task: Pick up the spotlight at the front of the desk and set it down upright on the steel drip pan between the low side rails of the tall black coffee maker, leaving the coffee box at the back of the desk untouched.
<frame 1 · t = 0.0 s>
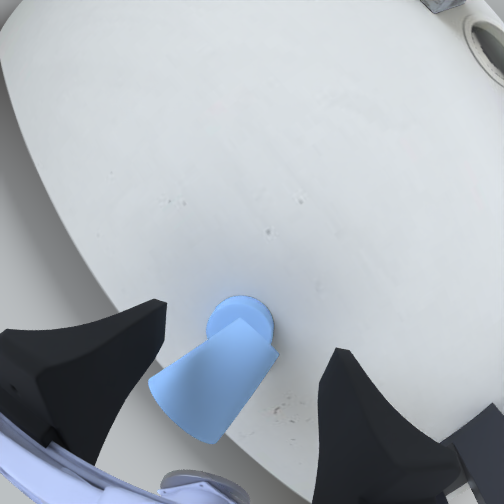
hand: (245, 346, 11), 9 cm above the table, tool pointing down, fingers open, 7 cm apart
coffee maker: (427, 479, 21), on the table
spotlight: (238, 328, 21), on the table
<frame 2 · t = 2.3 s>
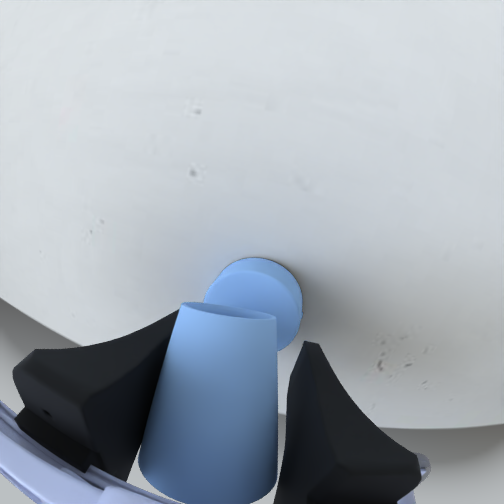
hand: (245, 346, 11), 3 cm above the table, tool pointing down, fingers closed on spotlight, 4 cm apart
spotlight: (257, 306, 15), on the table, touching gripper
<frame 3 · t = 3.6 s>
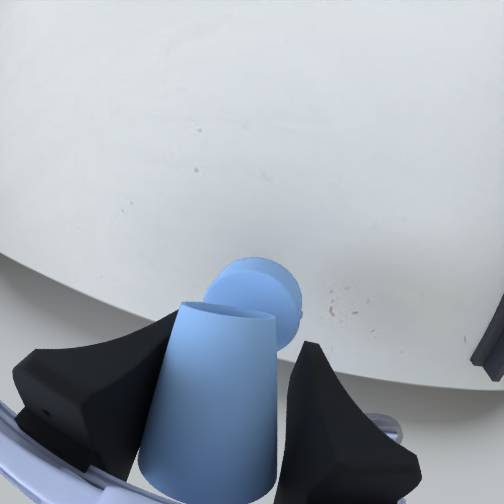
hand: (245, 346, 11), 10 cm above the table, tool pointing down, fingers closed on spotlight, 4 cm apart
spotlight: (256, 306, 15), point 7 cm above the table, touching gripper
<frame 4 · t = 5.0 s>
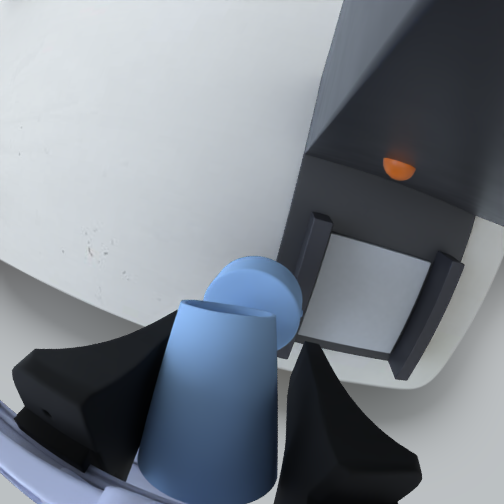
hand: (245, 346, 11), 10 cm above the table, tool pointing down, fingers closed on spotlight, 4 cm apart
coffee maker: (380, 243, 20), on the table
spotlight: (257, 305, 15), point 7 cm above the table, touching gripper
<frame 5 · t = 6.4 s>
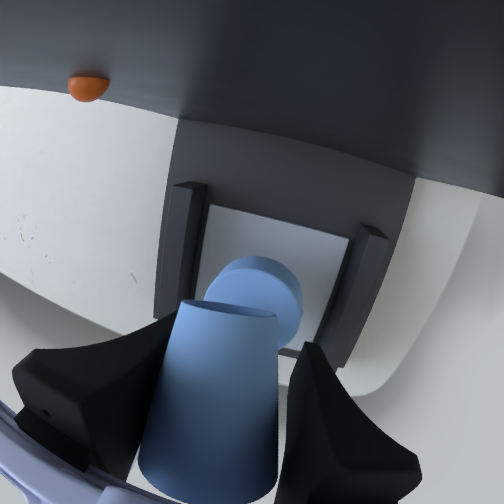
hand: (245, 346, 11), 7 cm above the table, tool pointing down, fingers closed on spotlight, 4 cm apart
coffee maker: (281, 215, 17), on the table
spotlight: (257, 304, 15), point 4 cm above the table, touching gripper
when the fingers open (5 cm above the table, at t = 7.7 s): spotlight stays where it is, resting on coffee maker.
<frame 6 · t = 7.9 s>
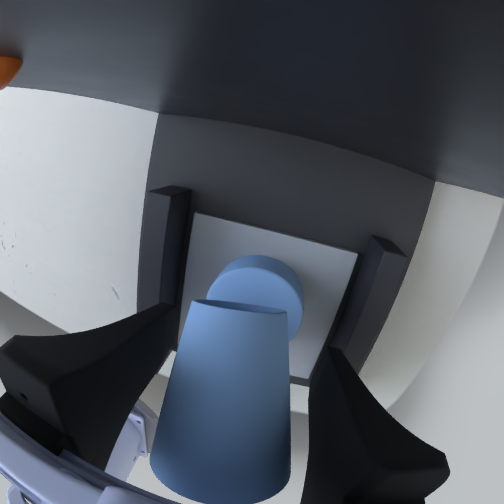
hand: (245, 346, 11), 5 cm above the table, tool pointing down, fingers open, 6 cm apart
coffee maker: (278, 225, 15), on the table
spotlight: (257, 303, 15), point 1 cm above the table, touching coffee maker
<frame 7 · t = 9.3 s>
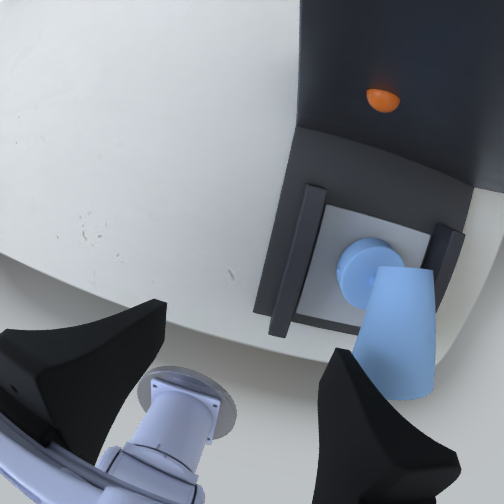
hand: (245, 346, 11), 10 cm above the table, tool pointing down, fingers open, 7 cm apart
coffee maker: (377, 216, 19), on the table
spotlight: (365, 274, 19), point 1 cm above the table, touching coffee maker
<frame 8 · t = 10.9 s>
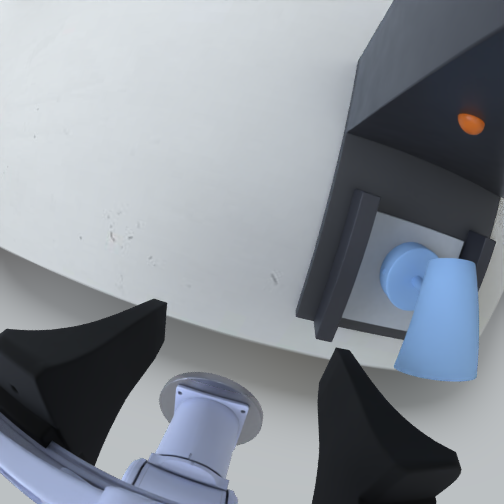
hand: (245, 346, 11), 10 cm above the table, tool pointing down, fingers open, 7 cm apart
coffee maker: (416, 223, 19), on the table
spotlight: (405, 277, 19), point 1 cm above the table, touching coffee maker
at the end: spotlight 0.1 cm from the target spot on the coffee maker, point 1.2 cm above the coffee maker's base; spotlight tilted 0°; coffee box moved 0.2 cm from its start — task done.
